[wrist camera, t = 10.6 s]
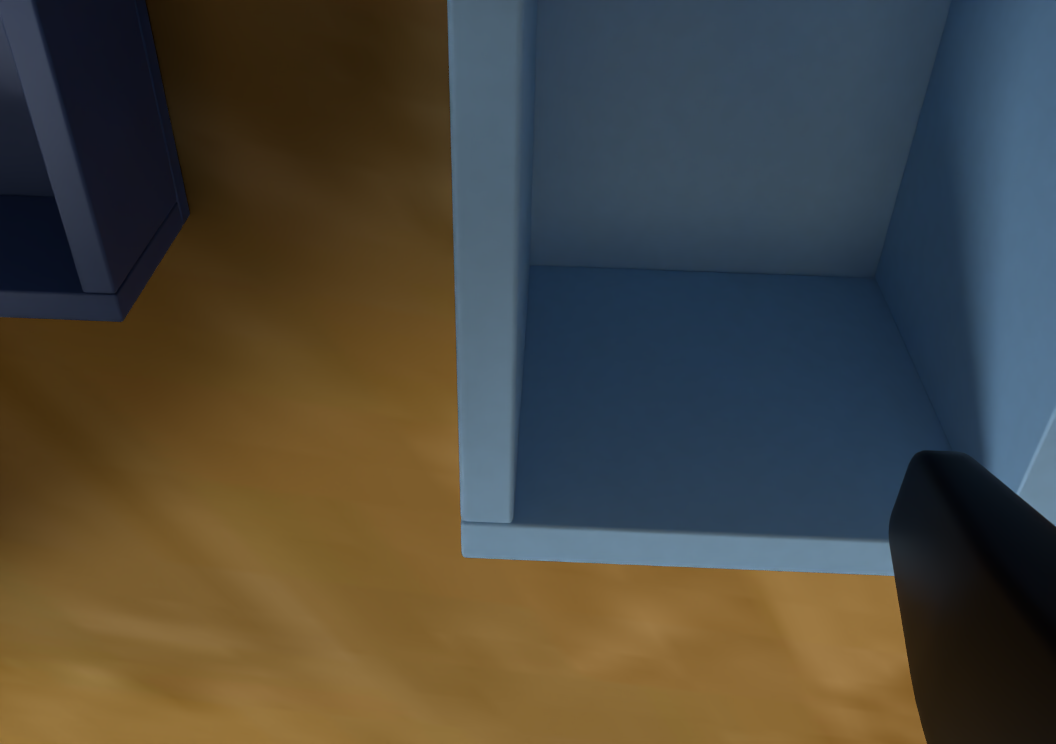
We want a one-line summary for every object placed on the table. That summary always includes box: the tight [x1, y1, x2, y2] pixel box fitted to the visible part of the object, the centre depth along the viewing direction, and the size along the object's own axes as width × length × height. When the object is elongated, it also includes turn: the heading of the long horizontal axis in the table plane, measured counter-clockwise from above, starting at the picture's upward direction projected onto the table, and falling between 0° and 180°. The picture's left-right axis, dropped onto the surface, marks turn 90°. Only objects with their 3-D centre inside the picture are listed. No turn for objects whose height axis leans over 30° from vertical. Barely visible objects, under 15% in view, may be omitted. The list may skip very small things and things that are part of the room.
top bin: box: [447, 0, 1056, 576], centre depth 15 cm, size 12×9×8 cm
